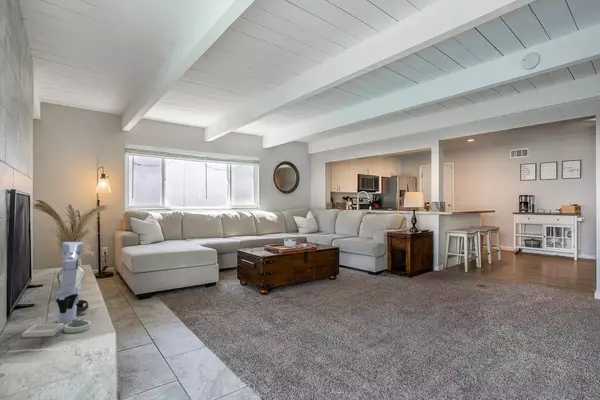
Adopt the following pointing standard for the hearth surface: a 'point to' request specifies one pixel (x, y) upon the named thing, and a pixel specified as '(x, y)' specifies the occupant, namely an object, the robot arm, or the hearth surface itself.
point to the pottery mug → (81, 306)
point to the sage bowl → (71, 329)
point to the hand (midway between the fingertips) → (66, 310)
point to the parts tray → (43, 330)
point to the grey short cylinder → (77, 322)
